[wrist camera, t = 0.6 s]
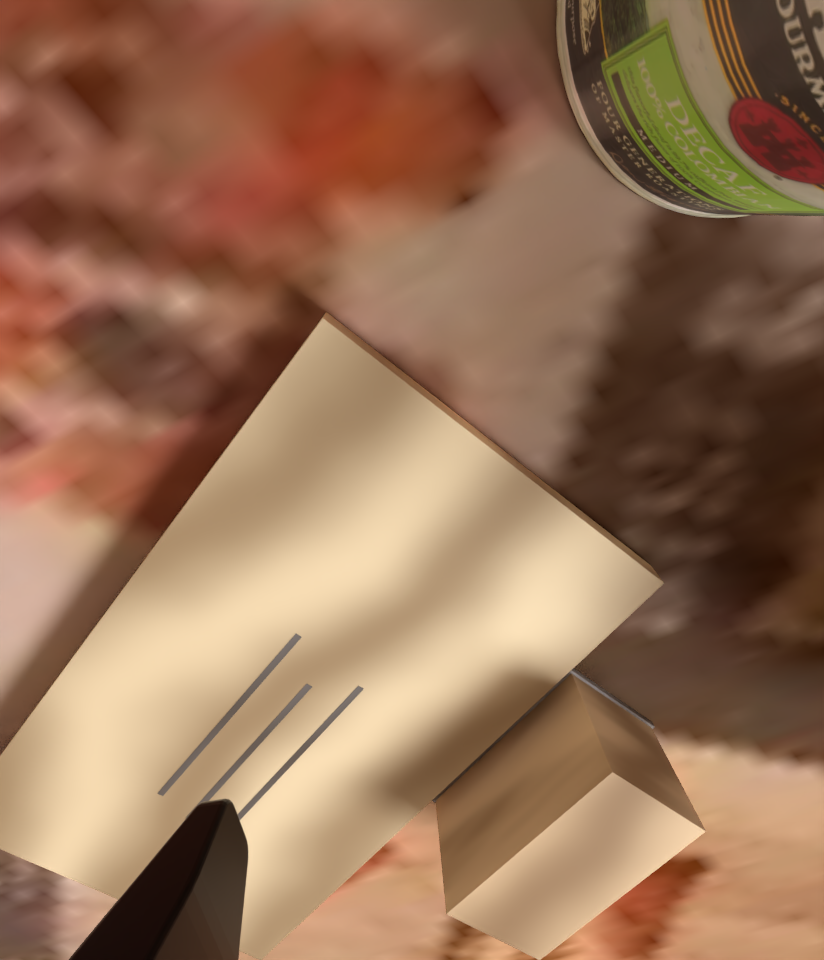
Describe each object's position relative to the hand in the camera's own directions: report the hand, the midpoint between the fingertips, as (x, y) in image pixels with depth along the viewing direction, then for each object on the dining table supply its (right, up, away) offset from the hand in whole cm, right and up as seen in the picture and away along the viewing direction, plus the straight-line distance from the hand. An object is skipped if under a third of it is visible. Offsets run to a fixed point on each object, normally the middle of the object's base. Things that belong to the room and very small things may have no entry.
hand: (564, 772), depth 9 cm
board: (-7, -4, +15) cm, 17 cm away
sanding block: (+3, -7, +18) cm, 19 cm away
